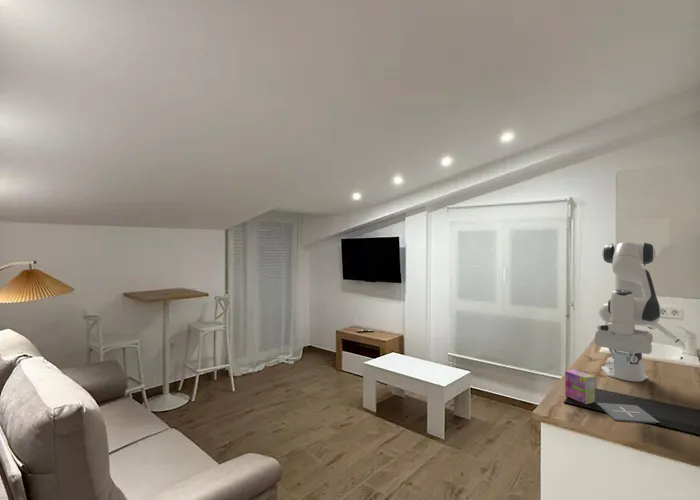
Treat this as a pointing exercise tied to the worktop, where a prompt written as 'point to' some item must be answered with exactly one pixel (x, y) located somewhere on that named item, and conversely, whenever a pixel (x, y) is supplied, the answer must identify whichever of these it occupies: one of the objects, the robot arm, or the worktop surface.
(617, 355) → the block
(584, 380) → the box
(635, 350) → the robot arm
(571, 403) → the worktop surface
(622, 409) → the mat
